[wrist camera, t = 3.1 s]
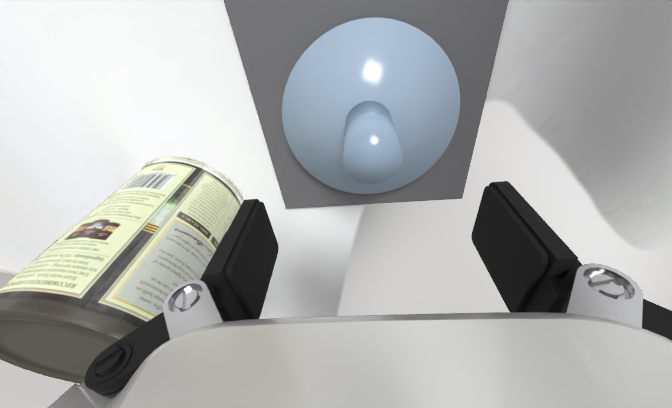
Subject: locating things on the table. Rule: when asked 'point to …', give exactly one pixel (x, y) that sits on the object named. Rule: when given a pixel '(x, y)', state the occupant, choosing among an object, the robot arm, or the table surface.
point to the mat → (339, 7)
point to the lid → (370, 105)
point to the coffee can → (115, 267)
